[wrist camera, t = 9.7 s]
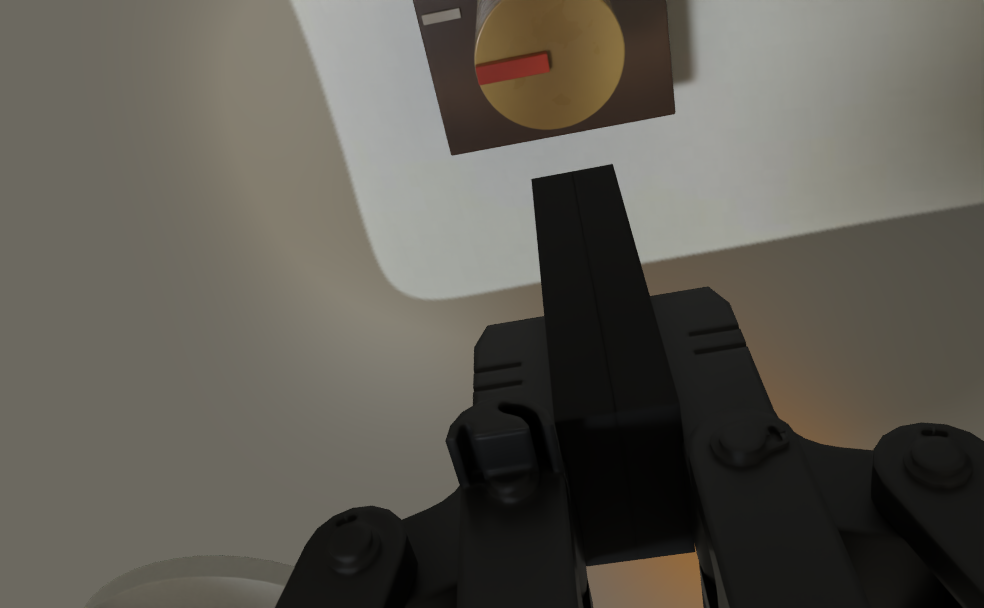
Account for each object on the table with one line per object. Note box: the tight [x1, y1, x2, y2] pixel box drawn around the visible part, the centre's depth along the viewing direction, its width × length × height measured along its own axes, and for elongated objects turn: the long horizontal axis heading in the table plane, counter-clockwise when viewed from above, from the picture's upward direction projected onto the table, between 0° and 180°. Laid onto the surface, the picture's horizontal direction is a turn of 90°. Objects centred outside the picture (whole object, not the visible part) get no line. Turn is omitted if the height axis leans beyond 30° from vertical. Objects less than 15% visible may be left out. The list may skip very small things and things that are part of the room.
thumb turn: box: [474, 0, 625, 130], centre depth 27 cm, size 4×4×7 cm
